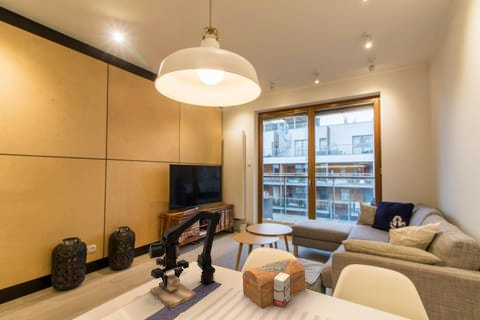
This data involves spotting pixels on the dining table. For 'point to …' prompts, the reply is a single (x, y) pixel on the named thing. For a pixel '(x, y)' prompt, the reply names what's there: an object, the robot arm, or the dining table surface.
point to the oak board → (173, 295)
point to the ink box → (281, 289)
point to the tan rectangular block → (172, 283)
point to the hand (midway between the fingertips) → (170, 285)
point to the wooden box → (272, 281)
